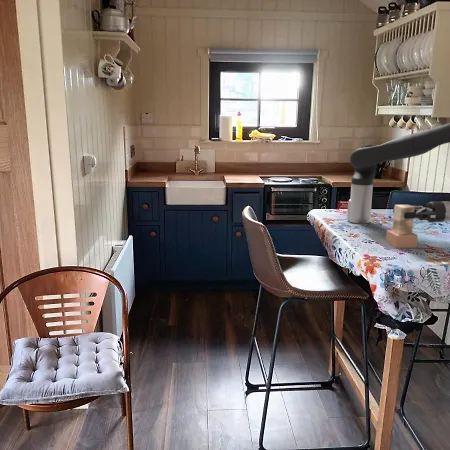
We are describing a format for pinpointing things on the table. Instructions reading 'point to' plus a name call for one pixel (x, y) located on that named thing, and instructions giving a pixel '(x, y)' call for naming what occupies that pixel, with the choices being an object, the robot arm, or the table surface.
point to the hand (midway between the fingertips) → (398, 212)
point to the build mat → (381, 240)
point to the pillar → (402, 220)
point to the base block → (401, 239)
